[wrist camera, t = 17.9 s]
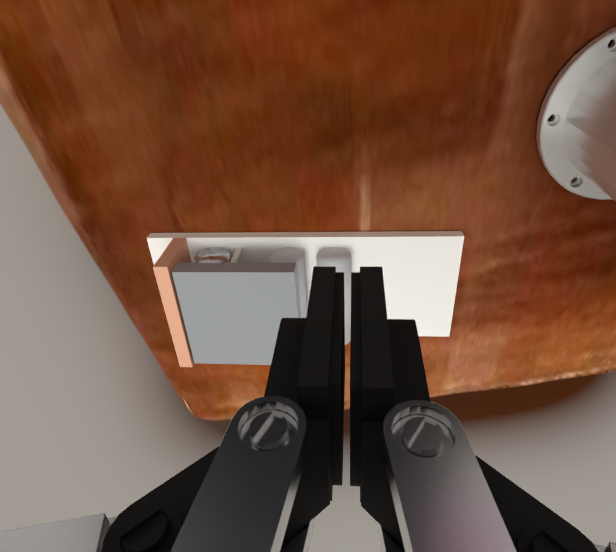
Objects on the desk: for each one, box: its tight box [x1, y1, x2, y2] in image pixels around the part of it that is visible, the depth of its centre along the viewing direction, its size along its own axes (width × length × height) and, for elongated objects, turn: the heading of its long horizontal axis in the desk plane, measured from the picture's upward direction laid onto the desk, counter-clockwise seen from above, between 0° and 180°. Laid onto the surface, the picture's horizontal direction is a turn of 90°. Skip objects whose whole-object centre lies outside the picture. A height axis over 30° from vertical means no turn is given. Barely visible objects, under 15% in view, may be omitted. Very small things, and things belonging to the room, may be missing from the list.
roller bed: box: [147, 231, 464, 367], centre depth 41 cm, size 28×11×6 cm, turn 93°
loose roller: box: [195, 247, 231, 263], centre depth 42 cm, size 3×9×3 cm, turn 3°
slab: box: [172, 263, 300, 365], centre depth 40 cm, size 10×10×2 cm
